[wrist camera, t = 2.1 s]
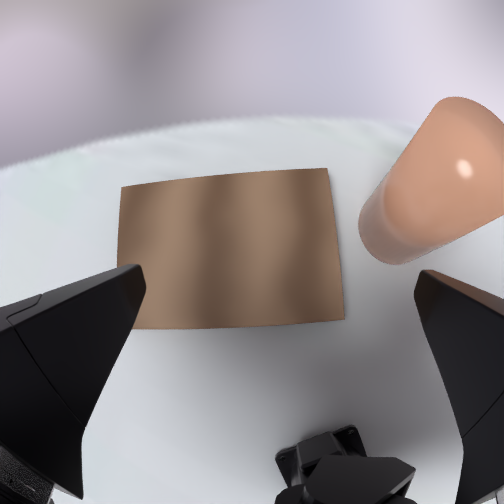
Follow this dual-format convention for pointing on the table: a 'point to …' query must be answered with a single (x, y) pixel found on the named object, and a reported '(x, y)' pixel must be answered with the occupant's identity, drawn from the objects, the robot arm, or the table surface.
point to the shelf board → (233, 250)
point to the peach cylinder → (438, 184)
